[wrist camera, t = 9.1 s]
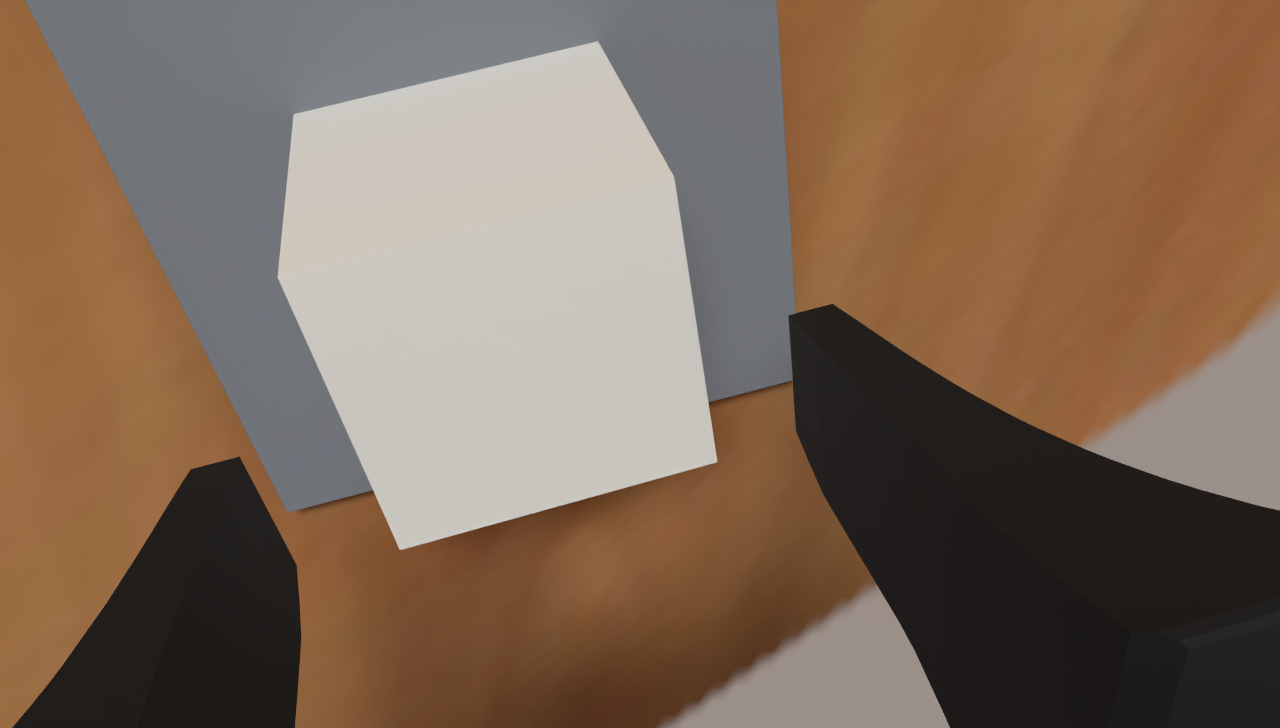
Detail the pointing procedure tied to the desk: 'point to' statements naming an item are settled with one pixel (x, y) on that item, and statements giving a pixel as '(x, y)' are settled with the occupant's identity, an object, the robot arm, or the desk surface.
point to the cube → (496, 292)
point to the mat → (385, 61)
